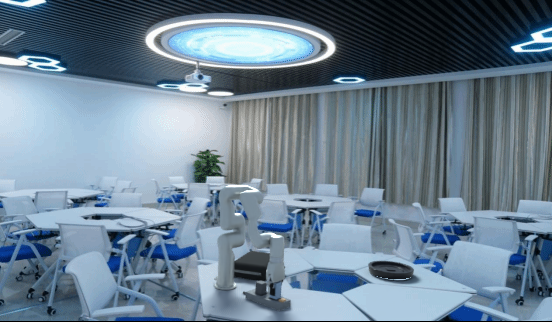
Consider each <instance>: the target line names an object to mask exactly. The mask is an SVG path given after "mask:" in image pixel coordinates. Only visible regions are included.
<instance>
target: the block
mask: <svg viewBox="0 0 552 322" xmlns="http://www.w3.org/2000/svg"><path fill="white" fill-rule="evenodd" d="M272 285H273V283H272ZM282 286H283V283H282V282H279V281H278V282H275V296H272V295H270V298H273V299H279V298H281V297H282Z"/></svg>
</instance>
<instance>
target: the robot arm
mask: <svg viewBox="0 0 552 322" xmlns="http://www.w3.org/2000/svg"><path fill="white" fill-rule="evenodd" d="M235 200H236V201H237V200H240V203H241V206H242V209H243V210H244V212H245V214H246V215H245V216H246V217H247V219H248V221H247V227H246V218H245V217H244V215H243V214H242V213H240V212H235V209H236V208H235V203H234V202H233V201H235ZM263 201H264V195H263V194H262V191H260V190H258V189H257V188H254V187H251V186H249V185H247V184H236V185H235V184H233V185H232V184H231V185H226V186H224V187H222V188H221V189H220V191H219V194H218V202H219V208H220V209H219V225H220V229H221V230H222V231H227V232H224V233H221V234H220V235H218V237H217V239H216V241H217V243H216V244H217V250H218V259H217V260H218V262H217V263H218V265H217V275H216V277H214V281H216V282H215V283H214V288H215V289H217V290H222V291H230V290H233V289H236V287H237V283H236V282H235V277H234V265H235V260H236V256H235V253H234V251H233V249H236V248H240V247H242V246H243V245H244V244H245V242H246V231H247V236H248V238H249V241H250V243H251V244H252V246H253V247H254V248H255V249H257V250H260V249H261V250H262V249H265V248H269V253H270V259H269V263H268V267H267V275H266V280H265V282H266V284H267V285H269V287H270V295H272V296H275V282H278V281H279V282H282V284H283V283H284V281H285V280H286V276H285V271H286V270H285V269H286V266H285V261H284V260H285V237H284V236H283V235H281V234H275V233H273V232H264V233H260V232H259V229H258V225H257V223H258V221H259V220H260V219H261V218H262V217H263V215H264V214H263V213H264V212H263V211H262V209H261V206H260V205H261V204H262V203H263ZM246 228H247V230H246ZM228 231H229V232H228ZM284 266H285V267H284ZM272 283H273V285H272Z"/></svg>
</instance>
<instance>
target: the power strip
mask: <svg viewBox="0 0 552 322" xmlns="http://www.w3.org/2000/svg"><path fill="white" fill-rule="evenodd" d="M266 282H267V281H257V280H256V281H255V288H253V289H250V290H248V291H242V294H243V295H245V299H246V300H248V301H252V302H254V303H257V304H260V305H262V306H265V307H267V308H270V309H272V310H275V311H278V312H281V311H283V310H286V309H288V308H290V307H291V299H289V298H287V297H283V296H281V298H279V299H273V298H270V292H268V287H267V284H266Z"/></svg>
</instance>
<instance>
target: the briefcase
mask: <svg viewBox="0 0 552 322" xmlns="http://www.w3.org/2000/svg"><path fill="white" fill-rule="evenodd" d="M269 259H270V252H262V251H255V250H249V251H247V252H246V253H244V254H243V255H241V256H240V257H239V258H237V259H235V265H234V278H238V279H243V278H244V280H245V279H246V280H250V279H251V281H252V280H253V281H257V280H258V281H264V282H266V270H267V267H268V263H269ZM284 267H285V268H286V266H285V265H284Z"/></svg>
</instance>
